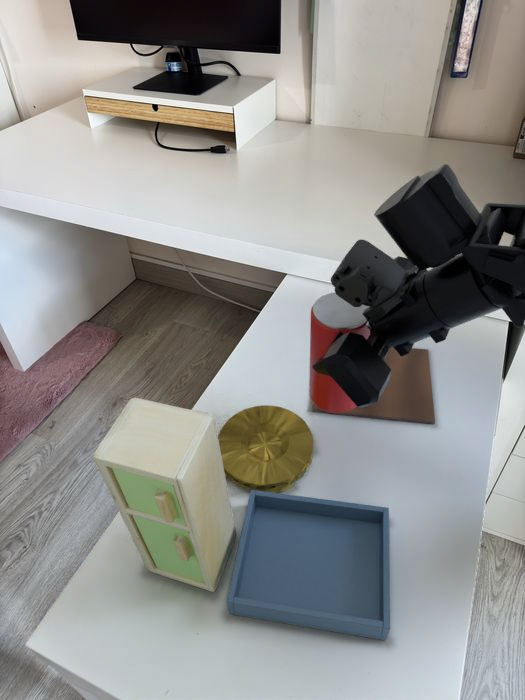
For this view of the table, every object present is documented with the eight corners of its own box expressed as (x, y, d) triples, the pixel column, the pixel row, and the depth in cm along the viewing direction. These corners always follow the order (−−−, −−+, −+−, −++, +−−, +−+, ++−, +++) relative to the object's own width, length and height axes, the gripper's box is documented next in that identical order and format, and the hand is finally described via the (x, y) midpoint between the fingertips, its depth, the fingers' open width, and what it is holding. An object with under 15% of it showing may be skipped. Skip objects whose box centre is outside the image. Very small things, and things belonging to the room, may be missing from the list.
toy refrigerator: (142, 578, 53) (85, 462, 39) (172, 516, 58) (132, 393, 44) (212, 601, 51) (179, 488, 37) (237, 535, 56) (217, 413, 42)
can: (372, 390, 62) (384, 305, 53) (341, 421, 58) (349, 337, 49) (329, 367, 65) (334, 284, 56) (298, 395, 62) (298, 312, 53)
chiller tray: (385, 521, 56) (388, 507, 54) (386, 640, 48) (390, 629, 46) (252, 504, 59) (250, 489, 57) (229, 614, 50) (226, 601, 48)
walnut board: (427, 351, 76) (428, 349, 76) (434, 424, 66) (435, 421, 66) (321, 343, 79) (321, 340, 78) (312, 411, 69) (312, 409, 68)
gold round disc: (200, 470, 62) (197, 460, 61) (247, 404, 70) (246, 394, 68) (287, 510, 58) (287, 500, 56) (327, 435, 65) (328, 424, 64)
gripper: (421, 186, 50) (317, 256, 62) (350, 285, 39) (239, 348, 50) (483, 271, 53) (372, 323, 64) (435, 389, 41) (309, 426, 53)
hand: (327, 350), depth 58 cm, fingers closed on can, 6 cm apart
